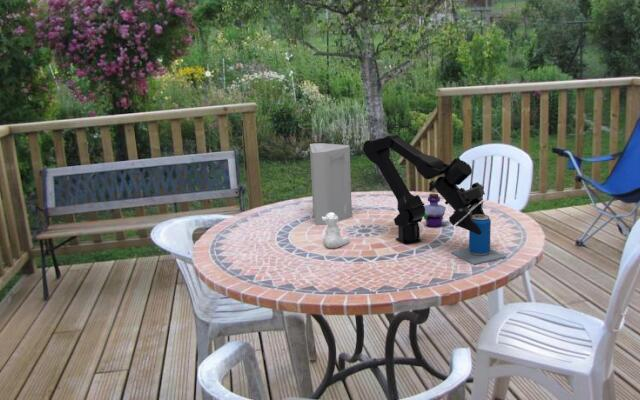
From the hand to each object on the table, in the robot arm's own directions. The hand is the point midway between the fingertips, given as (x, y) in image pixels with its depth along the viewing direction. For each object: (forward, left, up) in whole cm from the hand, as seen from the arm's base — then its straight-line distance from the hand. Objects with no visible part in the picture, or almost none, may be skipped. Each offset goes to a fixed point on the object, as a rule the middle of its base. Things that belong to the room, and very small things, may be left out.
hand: (484, 229), depth 200 cm
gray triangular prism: (-23, +65, -9) cm, 69 cm away
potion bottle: (+4, +35, -9) cm, 36 cm away
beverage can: (-1, +1, -8) cm, 8 cm away
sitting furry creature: (-37, +34, -9) cm, 51 cm away
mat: (-2, +1, -9) cm, 9 cm away
